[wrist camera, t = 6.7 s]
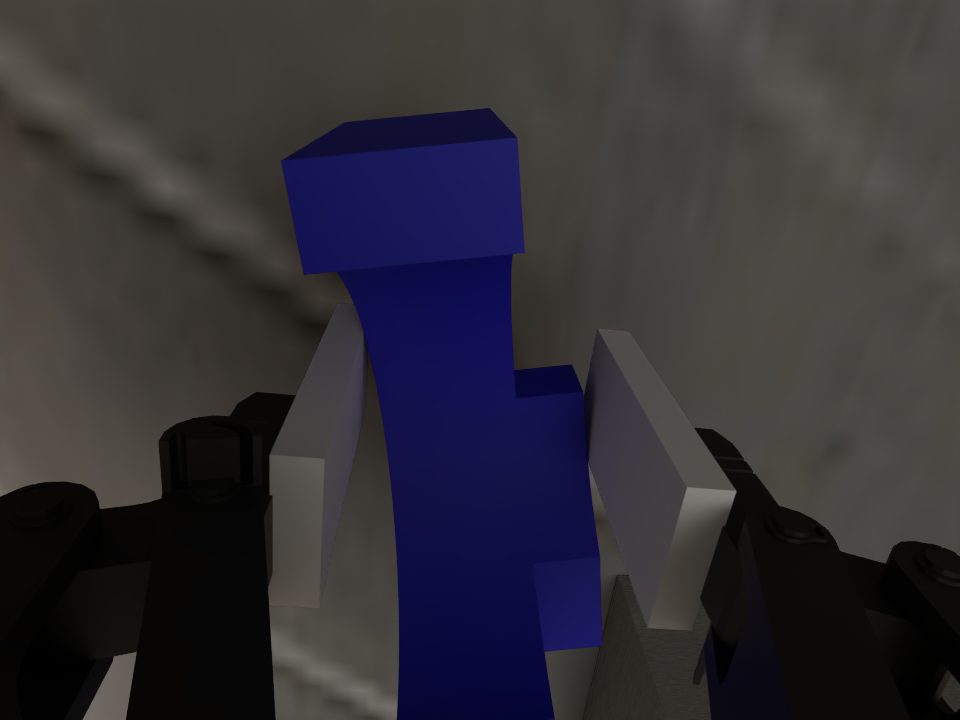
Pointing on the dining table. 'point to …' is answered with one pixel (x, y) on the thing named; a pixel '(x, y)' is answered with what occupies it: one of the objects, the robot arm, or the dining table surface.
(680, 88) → the dining table surface
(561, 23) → the dining table surface
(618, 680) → the white boxy block
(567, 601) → the blue stepped piece
